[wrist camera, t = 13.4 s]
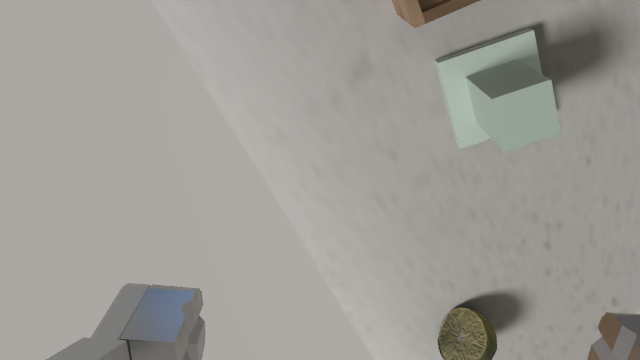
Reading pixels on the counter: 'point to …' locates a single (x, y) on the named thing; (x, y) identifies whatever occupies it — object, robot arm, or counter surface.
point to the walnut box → (427, 9)
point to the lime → (466, 336)
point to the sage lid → (499, 93)
